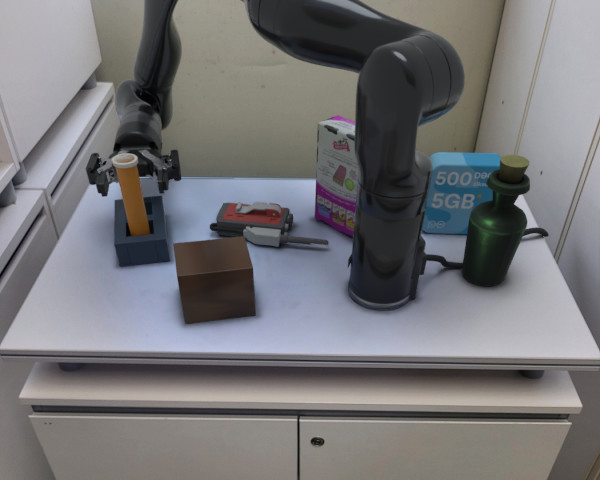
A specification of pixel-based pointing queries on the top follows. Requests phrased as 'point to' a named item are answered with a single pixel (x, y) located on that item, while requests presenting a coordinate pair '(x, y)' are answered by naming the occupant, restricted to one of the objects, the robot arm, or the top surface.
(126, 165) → the test tube
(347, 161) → the candy bar box
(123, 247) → the rack
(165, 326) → the top surface
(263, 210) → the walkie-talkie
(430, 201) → the data package
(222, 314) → the stand
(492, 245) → the potion bottle
